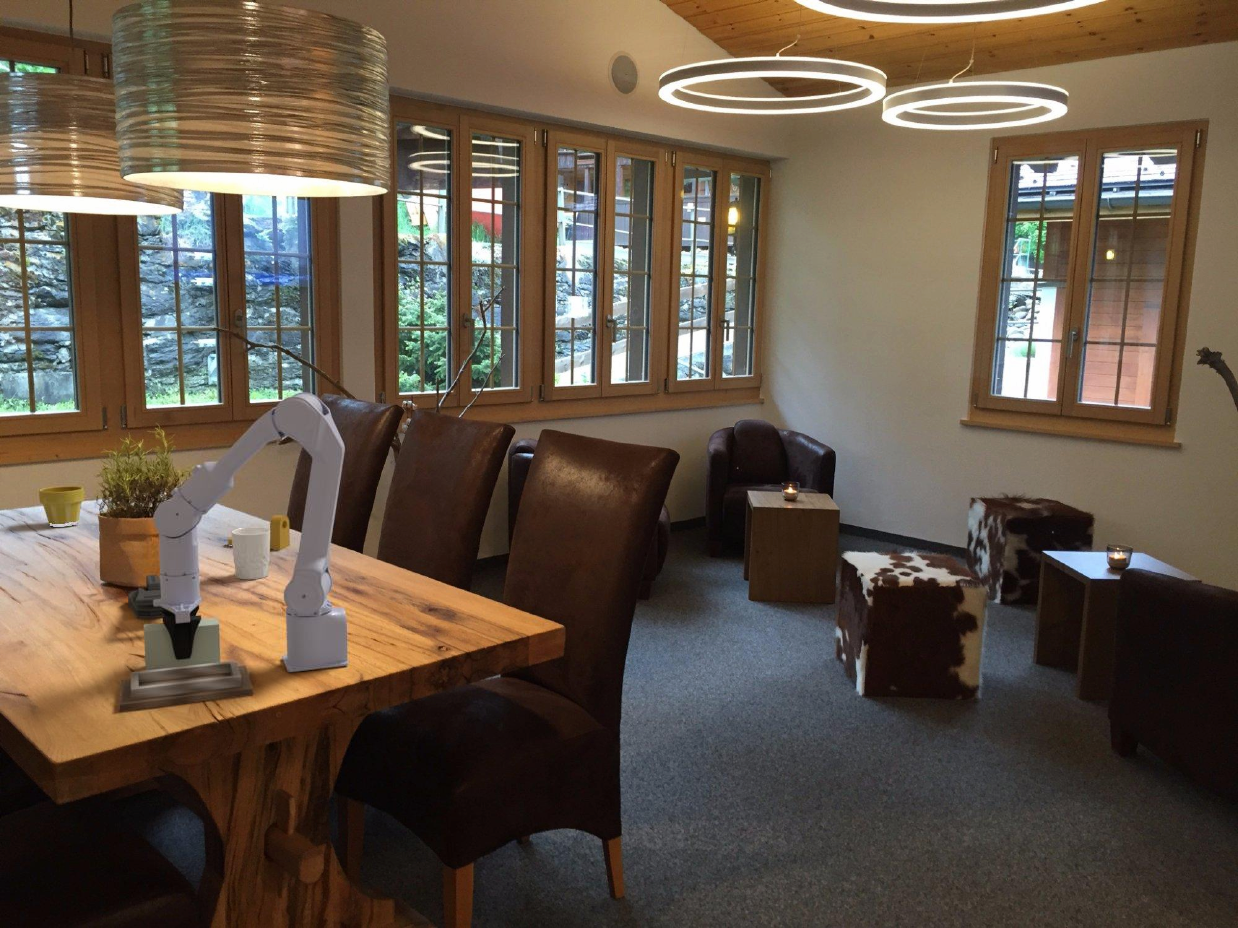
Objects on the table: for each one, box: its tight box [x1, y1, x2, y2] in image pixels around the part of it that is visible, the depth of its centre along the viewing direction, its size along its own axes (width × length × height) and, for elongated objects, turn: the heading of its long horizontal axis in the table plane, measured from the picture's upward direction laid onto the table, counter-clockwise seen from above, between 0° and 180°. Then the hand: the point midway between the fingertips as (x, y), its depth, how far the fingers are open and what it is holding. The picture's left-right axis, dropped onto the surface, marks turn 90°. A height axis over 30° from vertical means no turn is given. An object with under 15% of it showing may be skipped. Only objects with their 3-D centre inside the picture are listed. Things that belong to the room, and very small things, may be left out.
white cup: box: [231, 526, 271, 581], centre depth 222 cm, size 8×8×10 cm
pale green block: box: [143, 617, 221, 671], centre depth 165 cm, size 11×4×7 cm, turn 115°
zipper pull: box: [127, 574, 165, 620], centre depth 192 cm, size 9×7×25 cm
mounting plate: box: [119, 660, 254, 712], centre depth 154 cm, size 18×11×2 cm, turn 115°
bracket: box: [227, 514, 291, 551], centre depth 249 cm, size 15×4×8 cm, turn 78°
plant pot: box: [38, 485, 85, 524], centre depth 268 cm, size 10×10×10 cm
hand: (182, 654), depth 165 cm, fingers closed on pale green block, 4 cm apart
